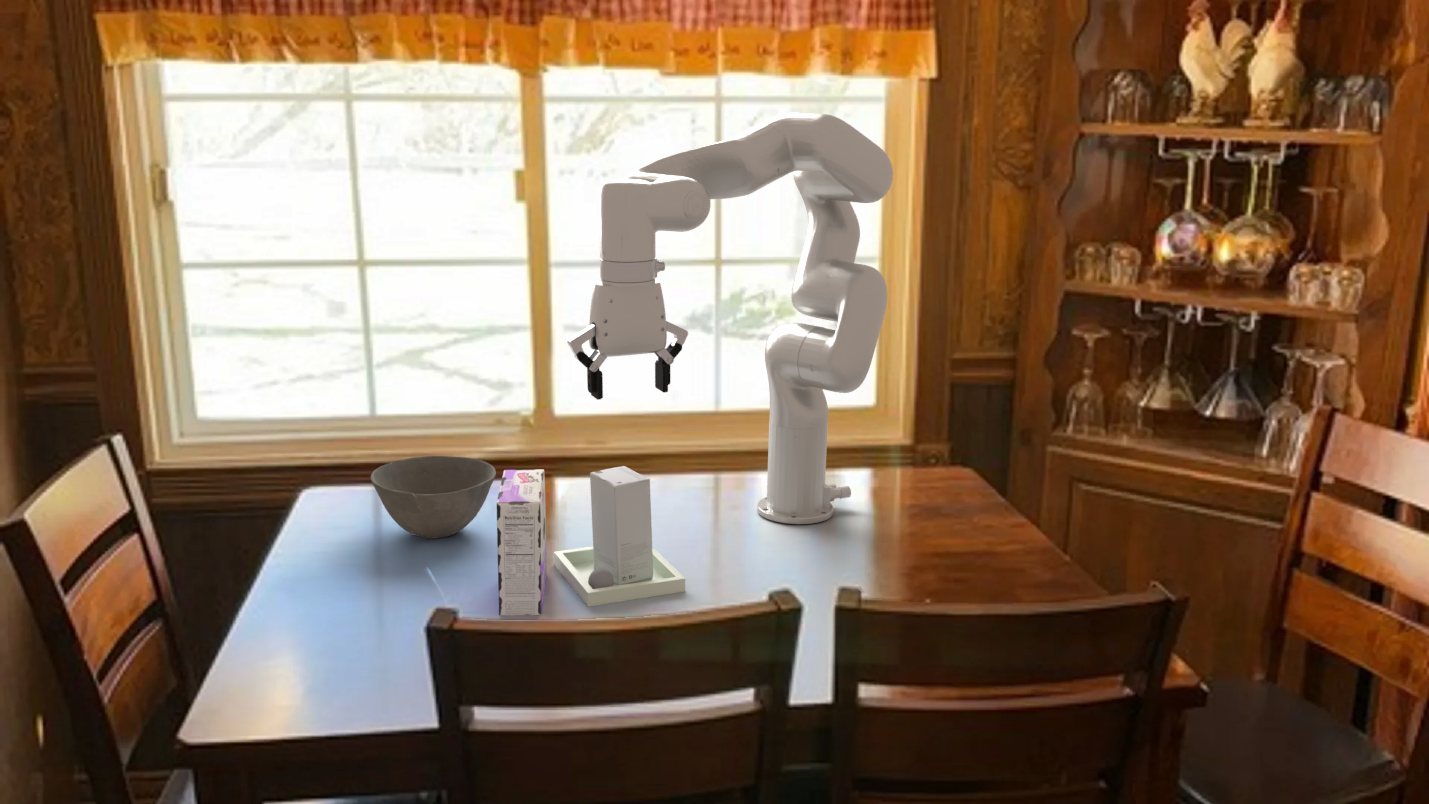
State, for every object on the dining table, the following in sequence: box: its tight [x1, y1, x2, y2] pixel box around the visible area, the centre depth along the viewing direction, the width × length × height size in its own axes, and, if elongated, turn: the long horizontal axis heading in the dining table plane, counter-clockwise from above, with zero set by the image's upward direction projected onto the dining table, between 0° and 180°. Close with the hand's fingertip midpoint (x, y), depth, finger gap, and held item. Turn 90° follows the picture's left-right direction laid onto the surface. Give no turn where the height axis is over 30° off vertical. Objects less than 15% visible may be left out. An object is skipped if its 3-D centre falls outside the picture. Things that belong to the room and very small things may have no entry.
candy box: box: [496, 468, 548, 616], centre depth 165 cm, size 14×6×16 cm, turn 5°
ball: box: [588, 568, 614, 589], centre depth 168 cm, size 4×4×4 cm
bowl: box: [370, 455, 497, 539], centre depth 189 cm, size 19×19×10 cm
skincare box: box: [589, 465, 653, 585], centre depth 173 cm, size 8×6×15 cm
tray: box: [553, 546, 686, 607], centre depth 173 cm, size 14×16×2 cm
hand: (629, 393), depth 171 cm, fingers open, 9 cm apart
